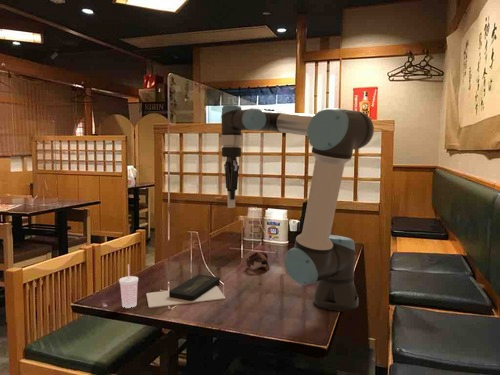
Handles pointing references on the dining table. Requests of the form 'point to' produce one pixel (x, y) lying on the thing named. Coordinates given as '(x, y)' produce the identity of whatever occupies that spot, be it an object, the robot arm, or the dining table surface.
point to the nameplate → (194, 287)
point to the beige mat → (164, 300)
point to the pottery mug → (258, 259)
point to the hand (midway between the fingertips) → (231, 207)
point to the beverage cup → (129, 290)
